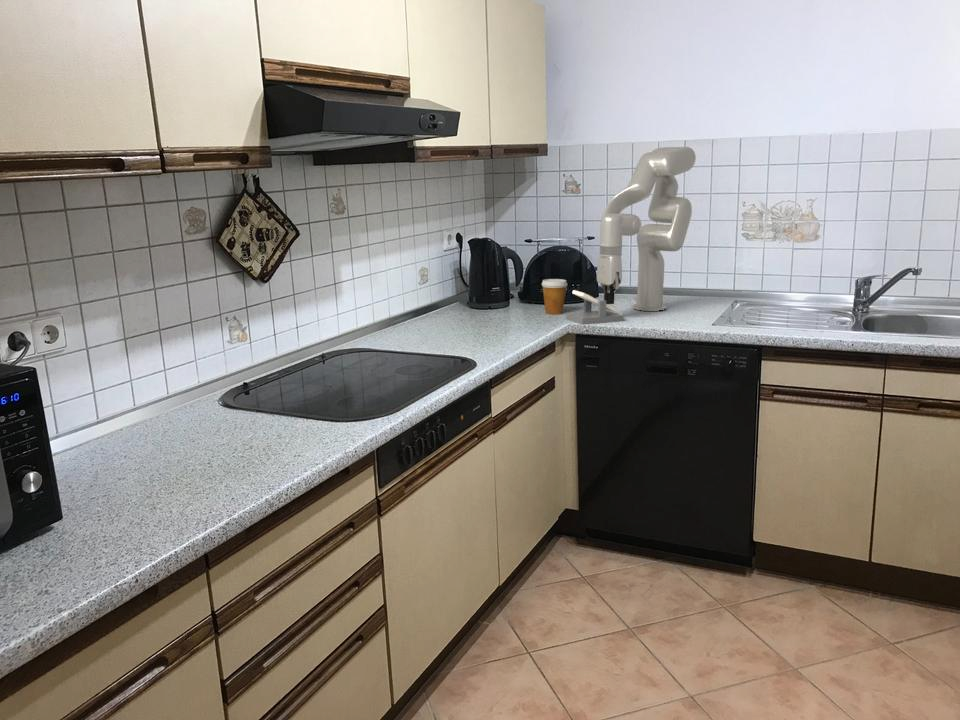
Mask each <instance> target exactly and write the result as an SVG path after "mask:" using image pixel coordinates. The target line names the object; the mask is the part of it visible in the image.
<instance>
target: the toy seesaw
mask: <svg viewBox="0 0 960 720" xmlns="http://www.w3.org/2000/svg"><path fill="white" fill-rule="evenodd" d="M592 305H593V303H591V302H589V301H587V300H585V299H583V311H576V312H575V311H574V312H566V315H565V318H566V320H569V321H572V322H575V323H578V324H580V325H590V324H603V323H614V322H616V323H617V322H624V315H623V314H621V313H620V314H619V313H618V312H617V313H616V312H613V311H609V310H606V301H605V300H604V299H603V300H599V301H598V305H597V306H598V309H597V310H592Z"/></svg>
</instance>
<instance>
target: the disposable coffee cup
mask: <svg viewBox="0 0 960 720" xmlns="http://www.w3.org/2000/svg"><path fill="white" fill-rule="evenodd" d="M541 286H542V291H543V292H542V293H543V301H544V302H543V303H544V310H545V311H544V312H545V314H547V315H562V314H563V312H564V307H565V299H566V298H565V297H566V292H567V287H568V282H567V280H566V279H561V278H547V279H542V282H541Z"/></svg>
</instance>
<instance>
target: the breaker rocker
mask: <svg viewBox="0 0 960 720" xmlns="http://www.w3.org/2000/svg"><path fill="white" fill-rule="evenodd" d="M572 294H573V295H575V296H577V297H579V298H581V299H583V300H584V299H585V300H587V301H589V302H591V303H592V305H593V304H594V305H596V306H598V301H600V300H599V299H597V298H594V296H593V295H590V294H588V293H586V292H583V291H579V290H577V289H574V290H572ZM606 310H608V311H611V312H614V313H617V314H618V311H619V309H618V308H616V306H613V305H612V304H606Z"/></svg>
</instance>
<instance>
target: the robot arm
mask: <svg viewBox="0 0 960 720" xmlns="http://www.w3.org/2000/svg"><path fill="white" fill-rule="evenodd" d="M696 159H697V158H696V153H695V151H694V149H693V148H691V147H689V146H670V147H669V146H667V147H658V148H655V149H653V150H652V151H650V152H645V153H644V154H642V155H641V156H640V158H639V160H638V162H637V165H636V167H635V169H634V171H633V173H632V175H631V178H630V181H629V183H628V184H627V186H626V187H624V188H623V189H622V190H621V191H619V192H618V193H617V194H616V195H615V196H613V197H612V198H611V199H610V201H609V202H608V203H607V204H606V207H605V208H604V211H603V214H602V216H601V218H600V227H599V228H600V231H599V232H600V233H599V236H600V237H599V238H600V239H599V256H598V260H597V268H596V282H597V283H598V284H600V286H601V287H602V288H603V294H604V295H603V300H605V301H606V304H608V305H614V304H615V294H616V290H618V289H620V286H619V285H620V284H622V281H623V280H622V279H623V278H622V277H623V266H622V265H623V263H622V253H623V252H622V249H623V237H624V236H625V237H633V236H635V235H636V244H637V249H638V250H637V251H638V268H637V292H636V296H634V297H633V300H634V301H636V303H634V304H632V307H631V308H632V309H633V310H635V309H636V310H637V311H640V310H641V312H642V311H643V312H660V311H659V310H663V311H665V310H664V309H666V310H667V305H665V304H663V301H664V299H663V298H664V282H665V281H664V280H665V278H664V277H665V260H664V259H665V258H664V256H663V254H662V252H677V251H679V250H680V249H682V247H683V245H684V242H685V239H686V236H687V233H688V229H689V225H690V223H691V219H692V211H693V209H692V208H693V207H692V203H691V201H690V199H688V198H687V197H685V196H678V191H679V183H678V180H677V179H676V177H675V176H677V175H681V174H684V173H686V172H689V171H690V170H691V169H692V168H693V167H694V165H695V164H696V161H697V160H696ZM652 190H653V192H652ZM651 193H652V196H651V200H650V203H649V207H648V213H647V216H648V219H649V220H651V222H654V223H646V224H644V225H642V221H641V219H640V217H639V216H638V215H635V214H632V213H622V212H623V210H624V211H625V209H626V208H628V207H631V206H632V205H635V204H637V203H640V202H642V201H645V200H646V199H647V198H649V197H650V195H651ZM662 223H663V224H662ZM665 223H666V224H665Z"/></svg>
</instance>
